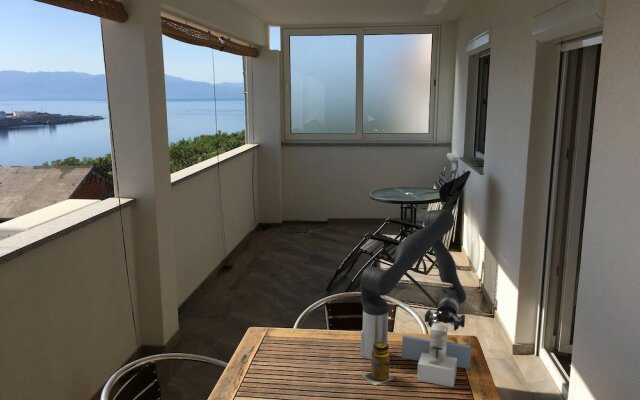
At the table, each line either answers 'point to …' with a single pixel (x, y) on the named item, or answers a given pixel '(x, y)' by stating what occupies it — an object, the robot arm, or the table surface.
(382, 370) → the condiment
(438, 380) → the plinth
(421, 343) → the screen
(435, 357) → the lettered block
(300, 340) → the table surface
